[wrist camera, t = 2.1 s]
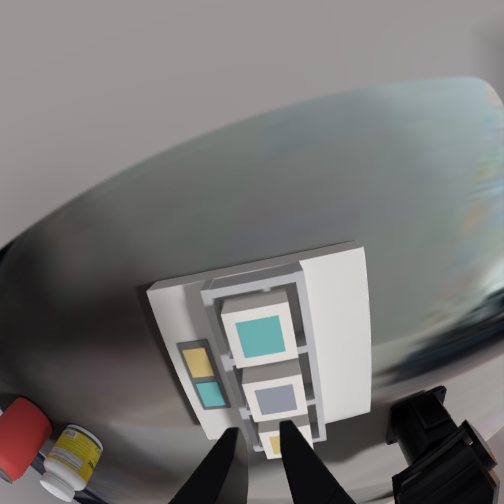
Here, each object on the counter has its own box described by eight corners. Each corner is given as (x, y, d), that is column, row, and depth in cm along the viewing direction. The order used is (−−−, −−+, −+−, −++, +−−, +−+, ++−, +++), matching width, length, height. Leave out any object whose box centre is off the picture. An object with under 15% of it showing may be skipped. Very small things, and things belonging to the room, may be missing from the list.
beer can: (48, 408, 24) (1, 469, 12) (59, 438, 25) (22, 494, 14) (13, 387, 24) (-35, 437, 12) (25, 418, 25) (-14, 466, 14)
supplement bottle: (98, 456, 26) (72, 508, 16) (64, 433, 25) (32, 481, 15) (109, 443, 25) (79, 502, 15) (71, 416, 24) (34, 471, 14)
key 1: (294, 339, 16) (298, 357, 15) (239, 349, 17) (236, 368, 15) (284, 287, 16) (288, 301, 14) (225, 299, 16) (220, 314, 14)
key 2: (310, 433, 18) (313, 452, 17) (267, 440, 19) (267, 459, 17) (306, 405, 18) (309, 425, 16) (258, 413, 18) (258, 433, 16)
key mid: (304, 393, 17) (308, 413, 16) (255, 402, 18) (254, 422, 16) (297, 355, 17) (301, 374, 15) (243, 364, 17) (242, 384, 15)
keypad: (363, 397, 22) (376, 426, 18) (211, 424, 23) (205, 455, 19) (353, 240, 19) (375, 254, 15) (156, 281, 20) (135, 302, 16)
